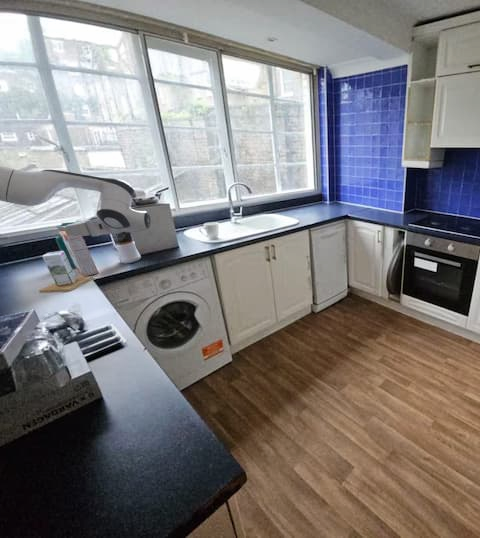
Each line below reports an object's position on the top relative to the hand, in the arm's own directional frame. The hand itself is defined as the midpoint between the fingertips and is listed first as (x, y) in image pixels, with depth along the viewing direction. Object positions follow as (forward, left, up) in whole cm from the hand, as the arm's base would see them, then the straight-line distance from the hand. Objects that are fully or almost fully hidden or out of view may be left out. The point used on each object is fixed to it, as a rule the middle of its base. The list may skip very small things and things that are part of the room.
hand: (68, 225), depth 118 cm
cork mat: (+4, +15, -28) cm, 32 cm away
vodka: (+32, +6, -28) cm, 43 cm away
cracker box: (+18, +18, -28) cm, 38 cm away
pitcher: (+29, +30, -28) cm, 50 cm away
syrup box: (+4, +15, -27) cm, 31 cm away
